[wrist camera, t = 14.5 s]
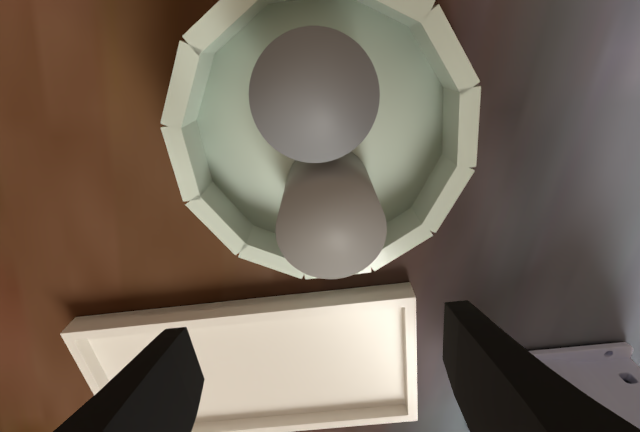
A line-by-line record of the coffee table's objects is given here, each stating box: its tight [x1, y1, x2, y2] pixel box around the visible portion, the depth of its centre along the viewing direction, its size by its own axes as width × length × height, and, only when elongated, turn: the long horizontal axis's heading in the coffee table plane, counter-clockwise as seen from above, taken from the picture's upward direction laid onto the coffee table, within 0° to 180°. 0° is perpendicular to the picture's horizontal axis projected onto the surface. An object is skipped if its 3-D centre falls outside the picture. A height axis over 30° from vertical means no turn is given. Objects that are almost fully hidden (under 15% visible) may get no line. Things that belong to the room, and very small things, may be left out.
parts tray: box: [60, 282, 418, 432], centre depth 22 cm, size 20×10×1 cm, turn 97°
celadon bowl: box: [161, 0, 481, 279], centre depth 16 cm, size 13×13×3 cm
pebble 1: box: [249, 26, 380, 163], centre depth 13 cm, size 4×4×5 cm
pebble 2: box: [275, 152, 387, 279], centre depth 15 cm, size 4×4×5 cm
